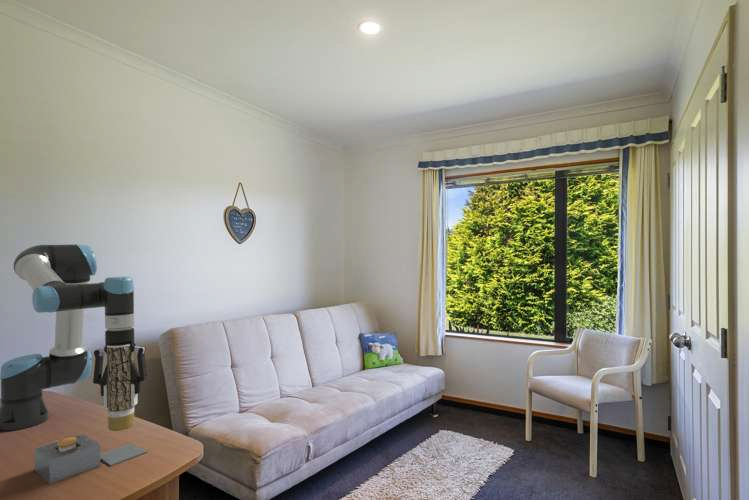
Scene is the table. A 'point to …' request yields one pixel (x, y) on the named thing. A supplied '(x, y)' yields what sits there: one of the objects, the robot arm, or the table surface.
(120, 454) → the mat
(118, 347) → the paper tube
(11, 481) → the table surface
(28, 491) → the table surface
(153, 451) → the table surface
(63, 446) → the plunger
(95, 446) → the block
